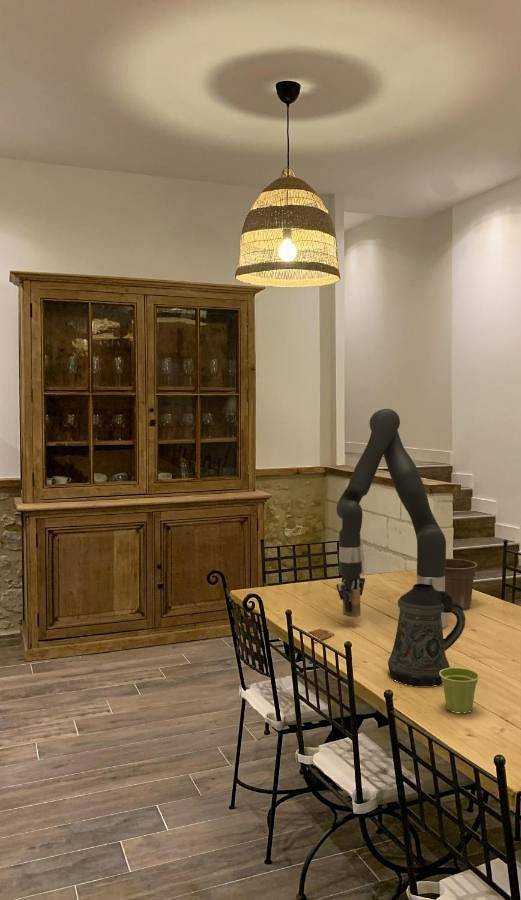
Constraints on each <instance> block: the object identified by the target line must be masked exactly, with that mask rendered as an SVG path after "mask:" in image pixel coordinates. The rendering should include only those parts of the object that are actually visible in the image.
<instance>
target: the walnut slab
mask: <svg viewBox="0 0 521 900" xmlns="http://www.w3.org/2000/svg"><path fill="white" fill-rule="evenodd" d="M346 591H349V590H346ZM349 592H350V591H349ZM347 595H348V597H349V594H347ZM343 596H344V595H343ZM351 601H352V612H346V611H345V601H344V600H342V616H345V617H348V618H349V617H350V618H355V619H357V618H358V617H361V616H362V614H361V613H362V612H361V596H360V588H359V589H354V590H353V594H352V600H351Z"/></svg>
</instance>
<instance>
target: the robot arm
mask: <svg viewBox="0 0 521 900" xmlns="http://www.w3.org/2000/svg"><path fill="white" fill-rule="evenodd" d="M368 423H369V428H370V431H371V433H370V435H369V439H368V442H367V445H365V449H364V450H363V453H362V454H361V456H360V458H359V460H358V462H357V464H356V465H355V468H354V470H353V471H352V475H351V477H350V479H349V482H348V485H347V487H346V488H345V489H344V491H343V492H342V494H341V496H340V497H339V499H338V502H337V505H336V508H335V509H336V513H337V516H338V517H339V518H340V519H341V521H342V523H341V529H340V530H339V534H338V540H339V541H338V542H339V545H338V546H339V550H338V567H339V568H338V569H339V570H338V571H339V574H340V575H341V576H342V577H341V582H340V583H339V584H338V583H337V584H336V589H337V592H338V596H339V599H340V600H342V601H343V600H344V601H345V611H346V612H352V601H351V600H352V594H353V590H354V589H360V597H362V595H363V591H364V587H365V583H366V579H365V577H361V575H362V574H363V558H362V557H363V556H362V547H361V546H362V545H361V544H362V543H361V530H362V524H363V509H362V505H361V504H360V502H361V501H362V499H363V498H364V497H365V496H367V494H368V492H369V491H370V488H371V486H372V484H373V480H374V478H375V476H376V473H377V471H378V468H379V465H380V463H381V460H382V458H384V461H385V464H386V466H387V470H388V473H389V476H390V479H391V481H392V483H393V486H394V487H393V488H394V489H395V491H396V493H397V496H398V498H399V500H400V502H401V504H402V505H403V507H404V509H405V511H406V512H407V513H408V515H409V517H410V520H411V523H412V526H413V529H414V533H415V537H416V542H417V543H416V544H417V545H416V546H417V547H416V561H417V562H416V584H428V585H432V586H433V587H434V589H436V590H437V591H445V568H446V559H447V540H446V537H445V534H444V532H443V531H442V529H441V527H440V526H439V524H438V522H437V520H436V517H435V516H434V513H433V512H432V509H431V506H430V503H429V498H428V494H427V491H426V487H425V484H424V482H423V481H424V480H423V479H422V477H421V474H420V472H419V470H418V468H417V466H416V464H415V462H414V461H413V459H412V457H411V456H410V455H409V453H408V452H407V450H406V448H405V447H404V445H403V442H402V440H401V437H400V433H399V428H400V426H401V419H400V416H399V414H398V413H397V411H396V410H394V409H391V408H382V409H379V410H377V411H375V412H374V413H372V415H371V417H370V419H369V422H368ZM346 590H349V591H350V592H349V591H346ZM347 594H349V597H348V595H347ZM343 595H344V596H343ZM441 621H442V629H444V628H446V627H448V613H444V612H442V613H441Z"/></svg>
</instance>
